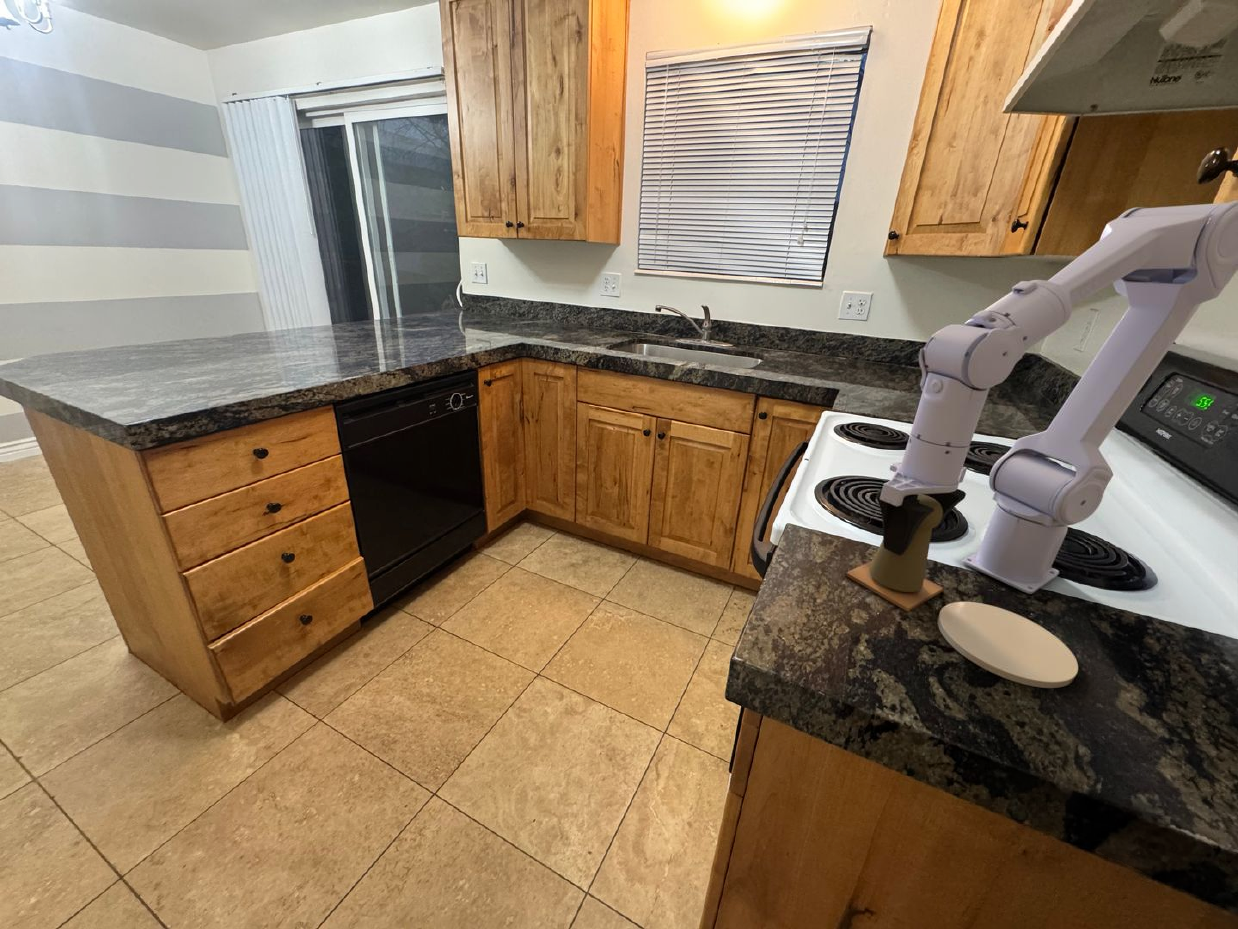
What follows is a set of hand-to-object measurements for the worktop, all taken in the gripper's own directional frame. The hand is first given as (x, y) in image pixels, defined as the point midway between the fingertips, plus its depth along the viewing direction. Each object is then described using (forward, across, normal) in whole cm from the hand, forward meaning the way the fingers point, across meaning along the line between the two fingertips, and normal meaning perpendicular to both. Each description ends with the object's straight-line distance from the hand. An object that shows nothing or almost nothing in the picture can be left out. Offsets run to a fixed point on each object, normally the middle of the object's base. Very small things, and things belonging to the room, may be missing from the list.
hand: (905, 545), depth 60 cm
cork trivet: (+6, 0, 0) cm, 6 cm away
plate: (+6, 0, +12) cm, 13 cm away
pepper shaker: (+5, 0, 0) cm, 5 cm away
